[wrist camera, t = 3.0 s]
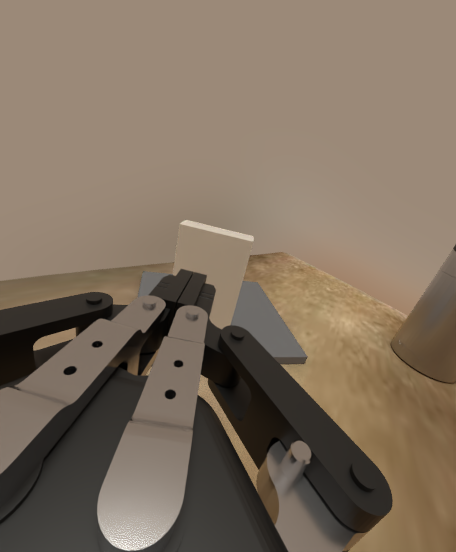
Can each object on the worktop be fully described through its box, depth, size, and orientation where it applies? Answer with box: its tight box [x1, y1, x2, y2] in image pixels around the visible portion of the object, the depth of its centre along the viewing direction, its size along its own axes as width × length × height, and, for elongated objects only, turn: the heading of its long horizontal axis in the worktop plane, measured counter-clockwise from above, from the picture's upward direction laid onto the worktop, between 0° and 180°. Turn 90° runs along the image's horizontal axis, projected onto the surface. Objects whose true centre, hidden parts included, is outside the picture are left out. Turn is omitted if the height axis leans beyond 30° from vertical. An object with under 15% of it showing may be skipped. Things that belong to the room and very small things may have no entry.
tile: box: [173, 220, 253, 329], centre depth 25 cm, size 2×7×14 cm, turn 85°
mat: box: [138, 271, 307, 366], centre depth 36 cm, size 22×20×1 cm
